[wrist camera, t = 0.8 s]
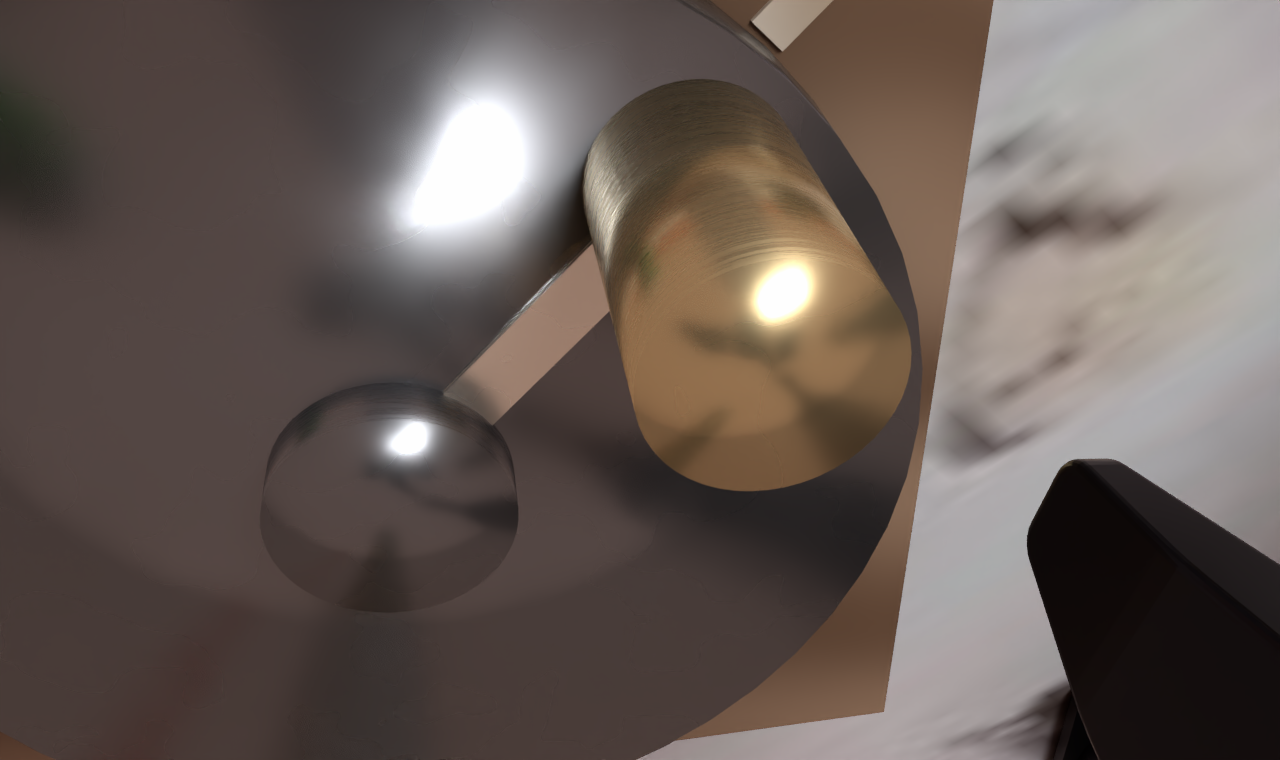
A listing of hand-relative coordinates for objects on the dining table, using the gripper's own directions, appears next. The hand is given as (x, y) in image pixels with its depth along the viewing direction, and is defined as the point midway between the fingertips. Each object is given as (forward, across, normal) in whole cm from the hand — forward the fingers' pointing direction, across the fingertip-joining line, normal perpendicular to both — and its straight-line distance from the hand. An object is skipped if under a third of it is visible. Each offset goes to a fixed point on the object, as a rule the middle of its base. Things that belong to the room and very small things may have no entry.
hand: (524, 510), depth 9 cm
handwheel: (+10, 0, +8) cm, 13 cm away
